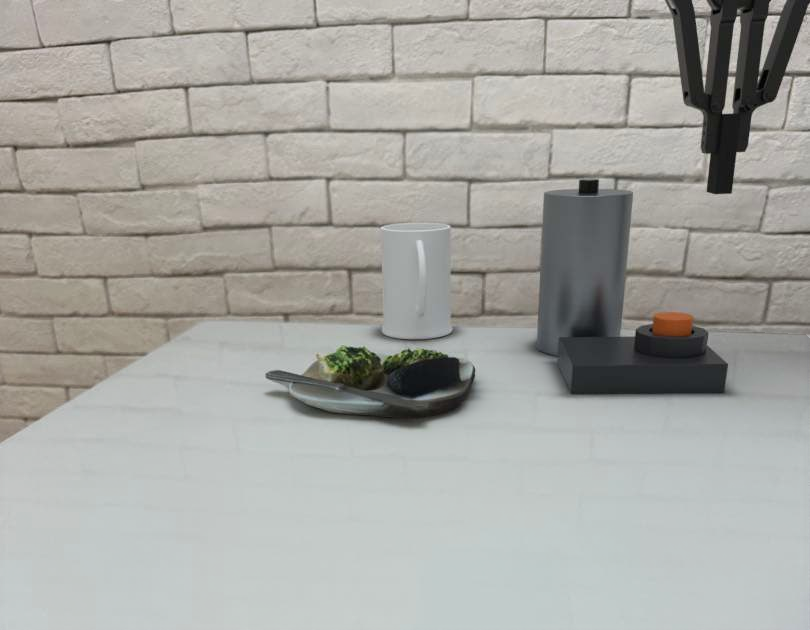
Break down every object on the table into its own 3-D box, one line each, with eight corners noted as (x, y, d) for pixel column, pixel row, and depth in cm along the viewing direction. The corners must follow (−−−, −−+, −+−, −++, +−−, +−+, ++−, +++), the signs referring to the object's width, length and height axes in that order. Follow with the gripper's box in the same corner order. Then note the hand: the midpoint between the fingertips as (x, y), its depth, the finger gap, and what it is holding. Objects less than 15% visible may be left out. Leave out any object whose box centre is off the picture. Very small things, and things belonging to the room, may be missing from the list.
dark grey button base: (693, 361, 88) (699, 317, 86) (724, 392, 79) (731, 344, 77) (557, 363, 89) (559, 319, 87) (570, 394, 79) (574, 345, 77)
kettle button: (685, 329, 83) (687, 311, 83) (695, 338, 80) (697, 319, 79) (648, 330, 84) (650, 312, 83) (656, 339, 80) (658, 320, 80)
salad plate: (235, 419, 75) (230, 366, 73) (299, 365, 90) (296, 321, 88) (455, 429, 71) (455, 375, 69) (482, 371, 87) (482, 325, 85)
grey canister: (611, 337, 99) (625, 175, 91) (626, 357, 91) (642, 181, 83) (533, 338, 99) (540, 177, 91) (540, 358, 91) (549, 183, 83)
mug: (455, 345, 97) (455, 233, 91) (379, 347, 97) (375, 235, 91) (450, 323, 107) (451, 221, 102) (382, 324, 107) (379, 223, 102)
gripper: (683, -133, 65) (656, 199, 76) (858, -143, 65) (807, 192, 75) (660, -110, 72) (638, 192, 82) (818, -119, 71) (776, 186, 82)
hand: (718, 192), depth 79 cm, fingers closed
